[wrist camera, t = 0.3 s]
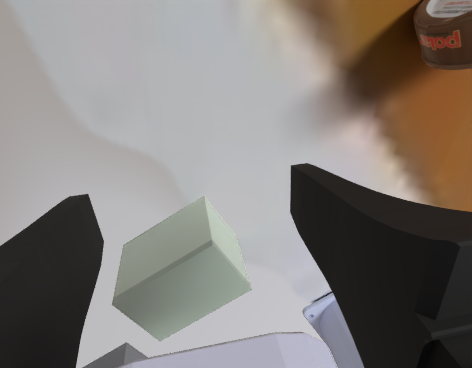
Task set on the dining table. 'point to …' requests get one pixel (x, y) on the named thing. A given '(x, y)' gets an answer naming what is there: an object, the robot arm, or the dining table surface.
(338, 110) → the dining table surface
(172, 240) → the block
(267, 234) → the dining table surface
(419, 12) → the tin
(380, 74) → the dining table surface
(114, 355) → the stand
